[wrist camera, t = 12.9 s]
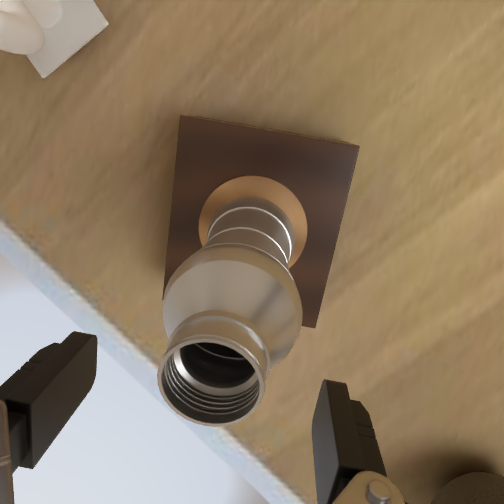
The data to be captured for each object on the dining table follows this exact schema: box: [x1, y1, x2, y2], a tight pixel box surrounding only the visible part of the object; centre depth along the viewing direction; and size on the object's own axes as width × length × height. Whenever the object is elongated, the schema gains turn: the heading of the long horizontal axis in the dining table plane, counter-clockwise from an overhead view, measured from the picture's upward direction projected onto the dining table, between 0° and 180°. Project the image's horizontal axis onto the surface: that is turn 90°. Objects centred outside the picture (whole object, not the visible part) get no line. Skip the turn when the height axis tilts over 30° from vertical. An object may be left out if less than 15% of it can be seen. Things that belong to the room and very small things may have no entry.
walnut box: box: [162, 115, 360, 328], centre depth 35 cm, size 16×14×6 cm
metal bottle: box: [157, 196, 303, 427], centre depth 23 cm, size 6×7×20 cm
